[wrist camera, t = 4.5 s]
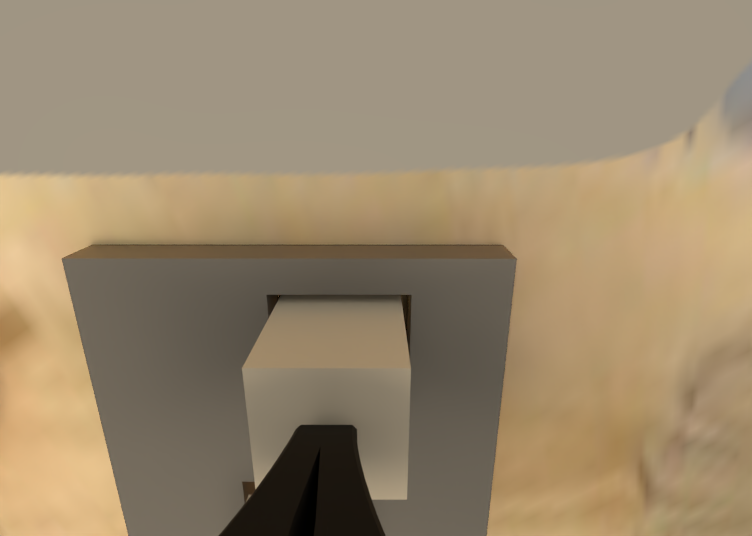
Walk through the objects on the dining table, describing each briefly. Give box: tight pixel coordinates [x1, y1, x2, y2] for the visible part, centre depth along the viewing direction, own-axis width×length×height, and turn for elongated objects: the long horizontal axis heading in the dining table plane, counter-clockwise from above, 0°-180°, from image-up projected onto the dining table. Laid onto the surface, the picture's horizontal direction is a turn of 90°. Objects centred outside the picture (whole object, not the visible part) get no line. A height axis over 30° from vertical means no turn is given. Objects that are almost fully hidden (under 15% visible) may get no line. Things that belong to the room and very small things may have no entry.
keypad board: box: [62, 245, 517, 536], centre depth 18 cm, size 14×22×2 cm, turn 0°
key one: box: [242, 295, 411, 500], centre depth 13 cm, size 4×4×5 cm
